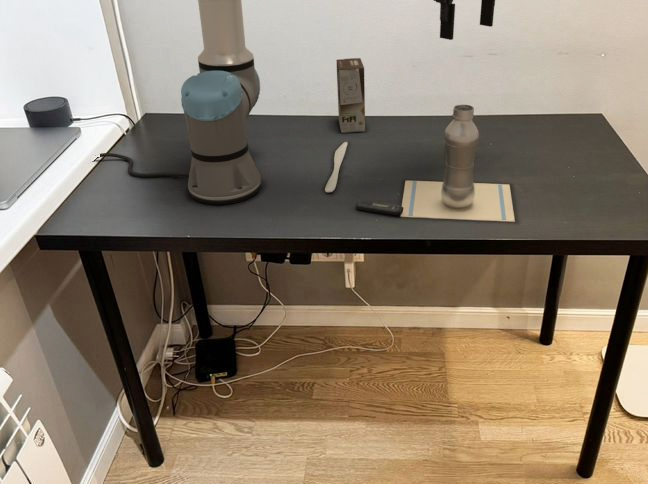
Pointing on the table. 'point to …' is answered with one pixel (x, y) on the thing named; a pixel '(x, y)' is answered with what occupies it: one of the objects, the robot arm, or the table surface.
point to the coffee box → (351, 95)
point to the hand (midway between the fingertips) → (466, 32)
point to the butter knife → (336, 167)
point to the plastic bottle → (460, 158)
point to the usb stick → (379, 207)
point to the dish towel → (486, 206)
